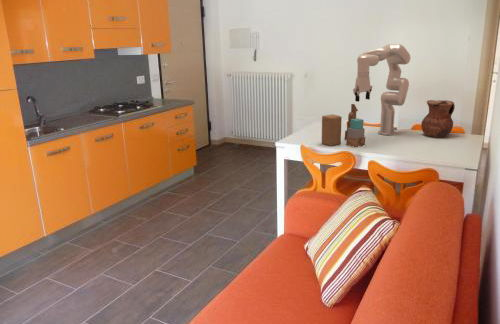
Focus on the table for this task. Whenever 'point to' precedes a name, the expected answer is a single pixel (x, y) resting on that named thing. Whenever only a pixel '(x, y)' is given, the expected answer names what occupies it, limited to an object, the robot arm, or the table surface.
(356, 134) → the tower mid
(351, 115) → the wooden toy
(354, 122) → the teal cube
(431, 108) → the jug
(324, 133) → the wooden block
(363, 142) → the tower base
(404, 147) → the table surface
